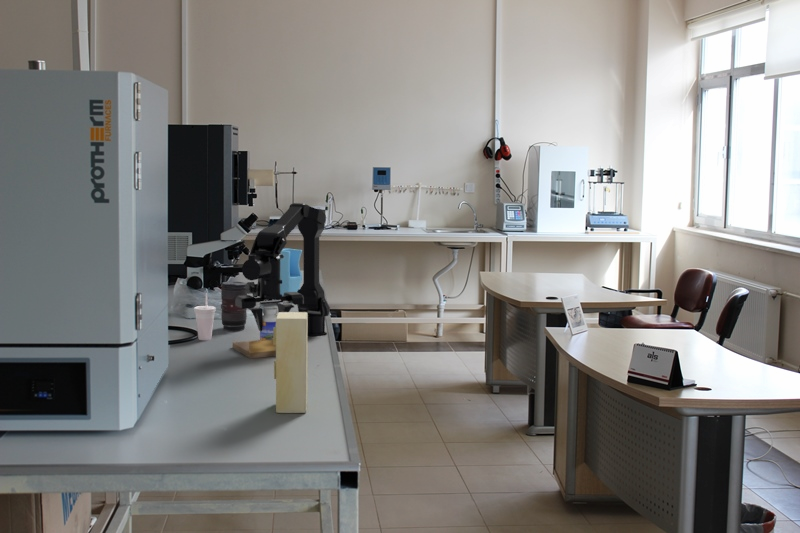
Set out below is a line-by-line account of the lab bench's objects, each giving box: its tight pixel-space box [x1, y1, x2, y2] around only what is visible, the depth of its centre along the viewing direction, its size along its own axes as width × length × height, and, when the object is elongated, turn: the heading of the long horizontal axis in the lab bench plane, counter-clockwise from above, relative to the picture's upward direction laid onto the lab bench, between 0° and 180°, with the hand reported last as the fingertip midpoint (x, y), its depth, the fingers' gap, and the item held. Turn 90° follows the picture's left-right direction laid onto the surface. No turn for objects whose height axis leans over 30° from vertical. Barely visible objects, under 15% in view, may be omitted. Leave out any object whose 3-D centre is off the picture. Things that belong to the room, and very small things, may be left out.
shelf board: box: [232, 339, 276, 359], centre depth 228 cm, size 15×14×4 cm
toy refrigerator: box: [273, 311, 308, 414], centre depth 175 cm, size 8×7×21 cm
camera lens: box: [220, 281, 248, 332], centre depth 255 cm, size 8×8×15 cm
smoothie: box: [193, 292, 217, 341], centre depth 240 cm, size 6×6×14 cm
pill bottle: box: [259, 306, 278, 341], centre depth 226 cm, size 5×5×10 cm
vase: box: [280, 248, 303, 296], centre depth 306 cm, size 8×8×20 cm
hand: (269, 329), depth 226 cm, fingers closed on pill bottle, 5 cm apart
